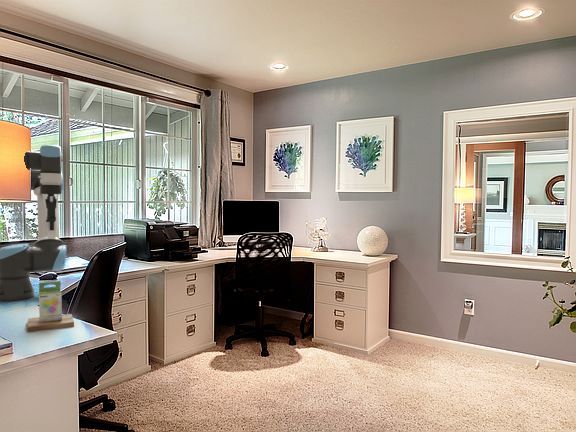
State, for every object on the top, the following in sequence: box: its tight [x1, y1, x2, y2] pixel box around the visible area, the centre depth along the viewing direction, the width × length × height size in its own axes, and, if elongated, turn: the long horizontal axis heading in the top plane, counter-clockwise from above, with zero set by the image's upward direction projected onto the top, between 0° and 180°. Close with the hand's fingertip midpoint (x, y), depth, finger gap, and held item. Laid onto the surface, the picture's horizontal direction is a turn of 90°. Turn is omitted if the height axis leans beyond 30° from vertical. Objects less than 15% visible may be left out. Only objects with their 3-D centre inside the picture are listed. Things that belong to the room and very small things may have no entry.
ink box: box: [38, 280, 63, 322], centre depth 153 cm, size 7×4×13 cm, turn 120°
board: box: [26, 313, 75, 333], centre depth 153 cm, size 12×14×2 cm
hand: (51, 237), depth 174 cm, fingers open, 13 cm apart
